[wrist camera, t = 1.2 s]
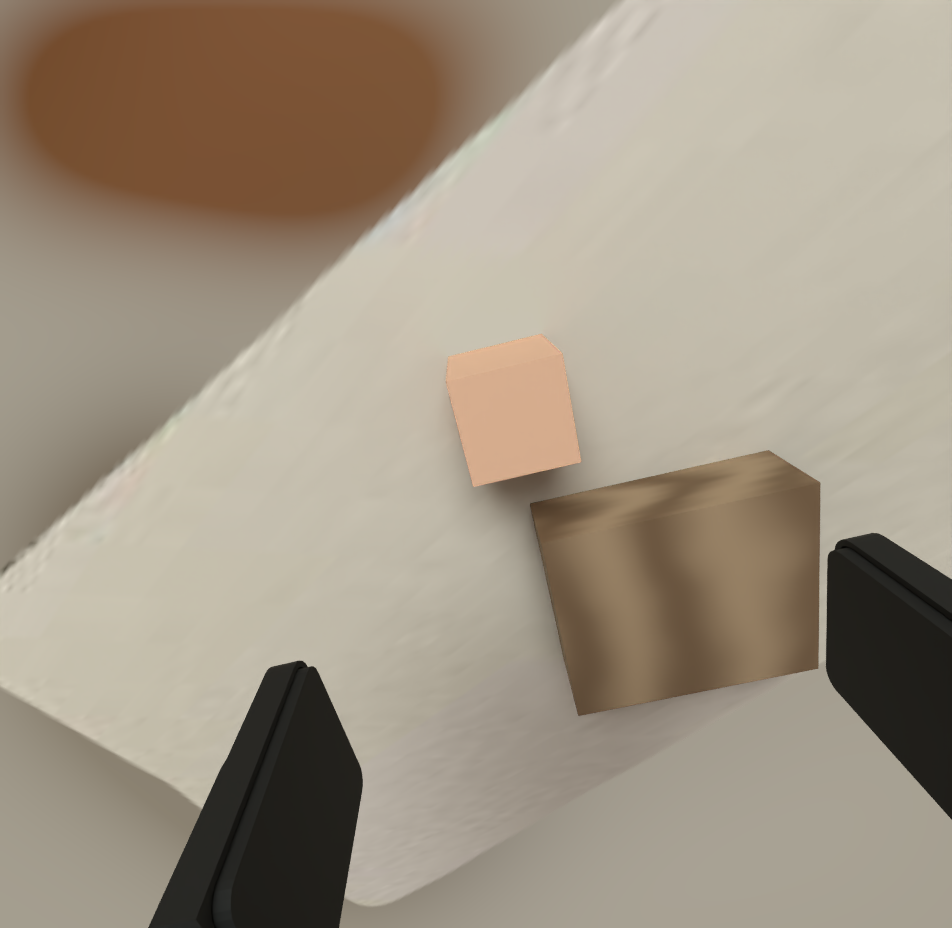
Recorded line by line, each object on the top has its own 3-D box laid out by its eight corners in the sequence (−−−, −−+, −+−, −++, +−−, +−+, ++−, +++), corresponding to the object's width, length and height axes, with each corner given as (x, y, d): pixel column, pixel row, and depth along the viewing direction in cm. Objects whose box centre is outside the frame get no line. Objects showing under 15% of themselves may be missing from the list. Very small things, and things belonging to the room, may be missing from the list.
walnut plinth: (765, 448, 30) (820, 482, 26) (770, 613, 35) (818, 668, 30) (529, 501, 31) (541, 543, 27) (563, 656, 36) (578, 715, 31)
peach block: (541, 333, 27) (562, 353, 22) (557, 422, 29) (581, 462, 24) (448, 356, 28) (445, 381, 22) (470, 443, 29) (473, 486, 24)
